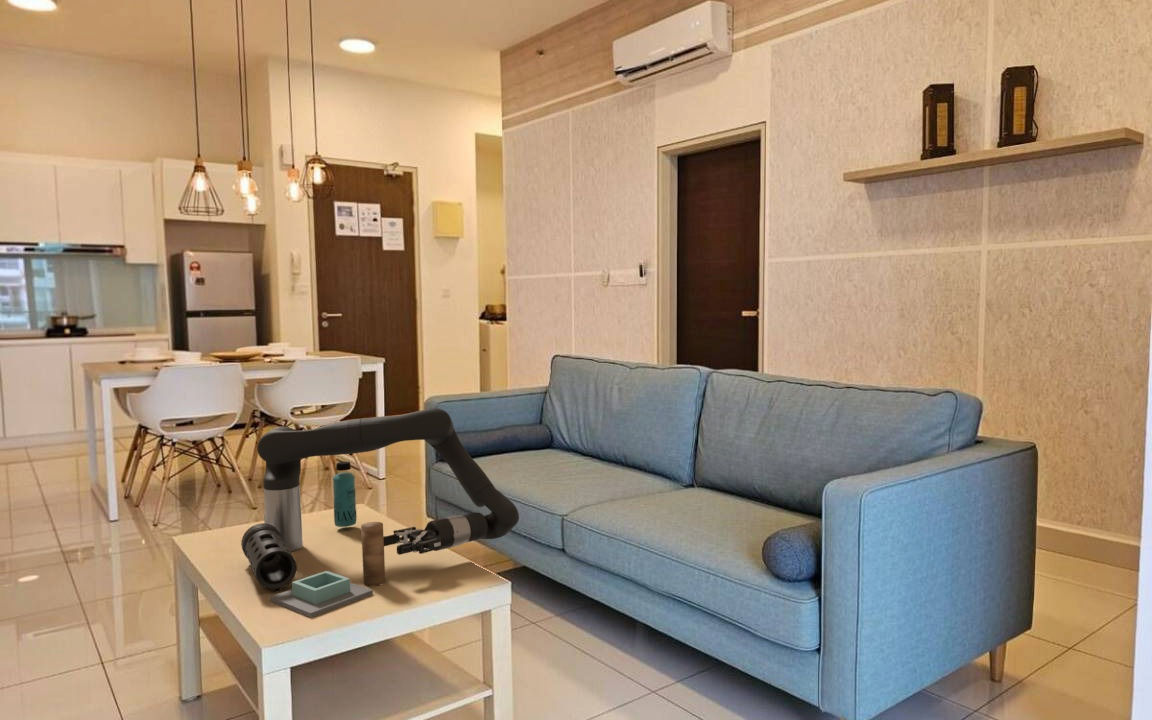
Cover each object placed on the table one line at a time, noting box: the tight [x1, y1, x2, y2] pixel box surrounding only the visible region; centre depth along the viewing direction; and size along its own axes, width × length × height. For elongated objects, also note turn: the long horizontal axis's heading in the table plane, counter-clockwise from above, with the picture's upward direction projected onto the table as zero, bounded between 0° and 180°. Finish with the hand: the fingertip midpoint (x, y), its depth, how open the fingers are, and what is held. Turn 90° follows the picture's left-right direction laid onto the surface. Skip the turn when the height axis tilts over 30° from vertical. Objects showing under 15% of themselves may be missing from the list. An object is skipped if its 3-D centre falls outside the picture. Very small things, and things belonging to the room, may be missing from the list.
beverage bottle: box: [332, 461, 358, 528], centre depth 229 cm, size 6×7×20 cm
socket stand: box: [269, 570, 374, 619], centre depth 175 cm, size 16×16×4 cm
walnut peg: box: [360, 521, 386, 587], centre depth 184 cm, size 5×5×14 cm
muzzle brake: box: [240, 523, 298, 593], centre depth 191 cm, size 10×28×10 cm, turn 29°
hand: (389, 546), depth 186 cm, fingers open, 8 cm apart
